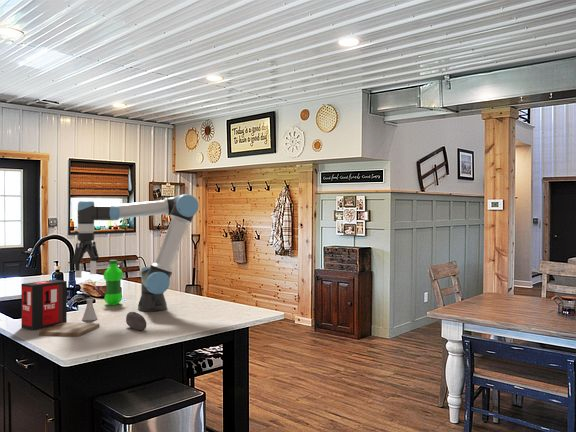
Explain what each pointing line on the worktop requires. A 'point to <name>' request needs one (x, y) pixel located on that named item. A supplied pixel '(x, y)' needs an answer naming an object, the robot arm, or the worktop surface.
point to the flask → (89, 311)
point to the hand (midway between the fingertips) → (86, 275)
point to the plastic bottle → (113, 283)
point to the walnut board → (69, 329)
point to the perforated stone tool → (136, 321)
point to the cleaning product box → (43, 304)
